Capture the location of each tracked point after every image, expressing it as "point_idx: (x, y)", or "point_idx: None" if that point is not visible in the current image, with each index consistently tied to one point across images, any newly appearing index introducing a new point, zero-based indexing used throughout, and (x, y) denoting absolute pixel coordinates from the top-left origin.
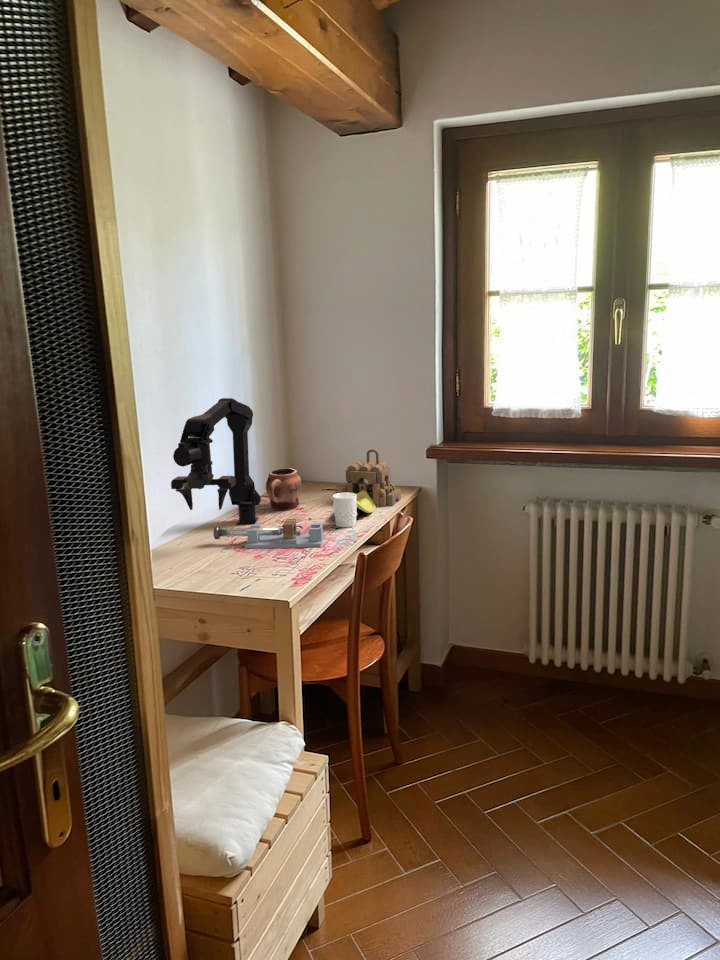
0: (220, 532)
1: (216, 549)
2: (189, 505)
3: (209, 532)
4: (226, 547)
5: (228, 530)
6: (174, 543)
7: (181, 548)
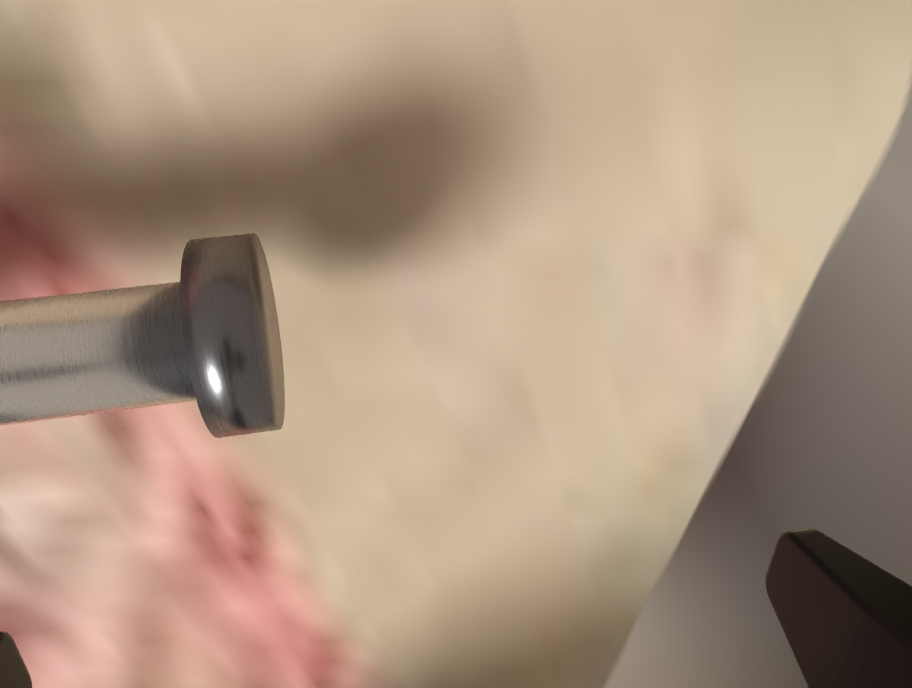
0: (150, 302)
1: (160, 29)
2: (904, 607)
3: (498, 575)
4: (52, 125)
5: (7, 345)
6: (779, 254)
7: (670, 72)
